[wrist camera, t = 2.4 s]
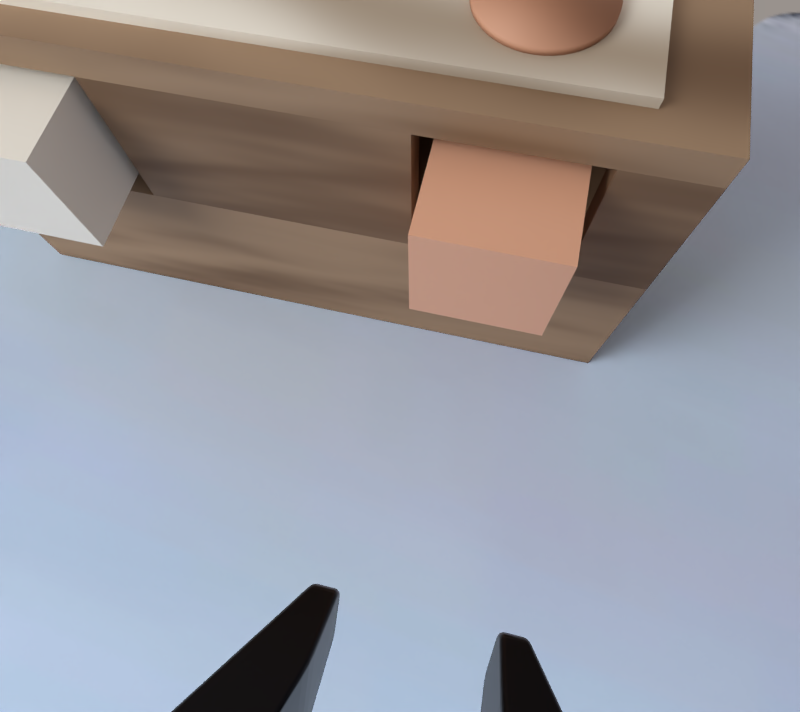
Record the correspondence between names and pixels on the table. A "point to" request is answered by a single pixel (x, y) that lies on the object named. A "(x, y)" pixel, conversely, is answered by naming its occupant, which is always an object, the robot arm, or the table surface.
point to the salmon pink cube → (495, 235)
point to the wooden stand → (397, 134)
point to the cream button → (58, 159)
